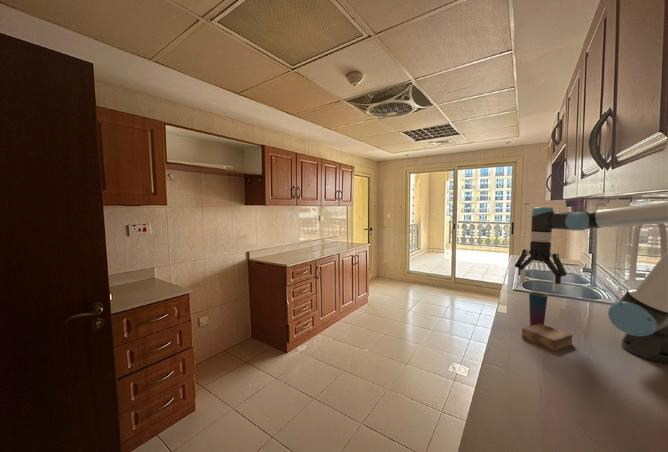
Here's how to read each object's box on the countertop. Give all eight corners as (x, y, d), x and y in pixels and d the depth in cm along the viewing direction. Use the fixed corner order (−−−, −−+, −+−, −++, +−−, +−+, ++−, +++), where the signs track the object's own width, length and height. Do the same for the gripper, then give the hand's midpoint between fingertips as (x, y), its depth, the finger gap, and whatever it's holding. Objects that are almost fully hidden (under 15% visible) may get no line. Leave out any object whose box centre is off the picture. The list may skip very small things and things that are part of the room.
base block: (571, 344, 108) (572, 334, 108) (554, 350, 103) (555, 340, 103) (538, 332, 119) (539, 323, 119) (521, 337, 114) (522, 328, 114)
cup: (539, 323, 128) (541, 292, 127) (549, 329, 121) (551, 297, 120) (524, 322, 129) (525, 292, 128) (533, 328, 122) (535, 296, 121)
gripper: (578, 243, 113) (575, 293, 114) (517, 237, 135) (515, 278, 137) (569, 244, 110) (565, 295, 111) (507, 238, 132) (505, 280, 134)
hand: (537, 286), depth 124 cm, fingers open, 13 cm apart
